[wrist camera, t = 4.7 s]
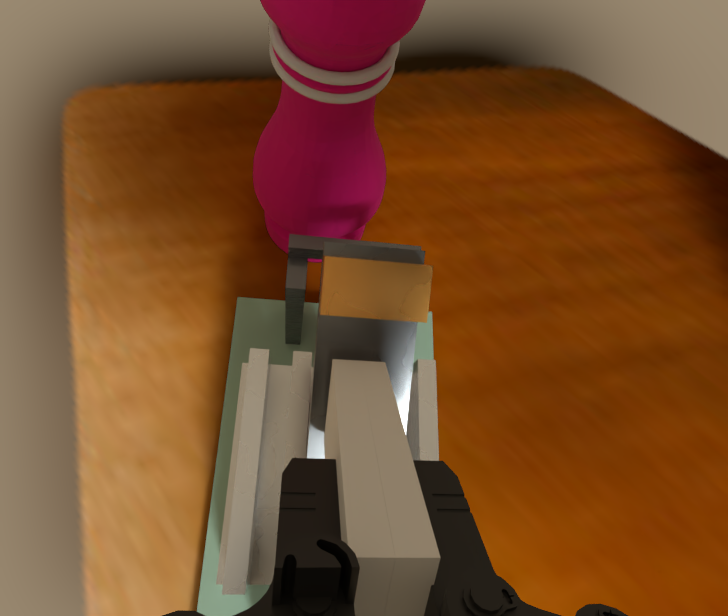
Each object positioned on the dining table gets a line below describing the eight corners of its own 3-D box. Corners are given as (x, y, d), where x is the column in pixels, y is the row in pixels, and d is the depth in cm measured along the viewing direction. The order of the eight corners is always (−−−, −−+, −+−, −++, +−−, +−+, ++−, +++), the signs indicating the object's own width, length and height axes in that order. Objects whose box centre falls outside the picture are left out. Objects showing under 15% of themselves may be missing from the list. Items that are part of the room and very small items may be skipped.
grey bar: (373, 666, 17) (383, 725, 15) (288, 667, 17) (286, 729, 15) (416, 250, 16) (434, 251, 14) (323, 241, 15) (326, 241, 13)
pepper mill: (285, 288, 29) (287, -89, 11) (238, 191, 31) (171, -269, 13) (391, 246, 31) (545, -128, 13) (341, 158, 33) (412, -276, 15)
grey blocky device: (421, 646, 22) (491, 718, 15) (215, 648, 21) (177, 728, 14) (415, 318, 28) (462, 250, 21) (255, 306, 27) (243, 229, 19)
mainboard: (436, 682, 23) (444, 691, 22) (190, 688, 21) (185, 698, 20) (426, 319, 30) (431, 311, 28) (239, 305, 28) (237, 296, 27)
